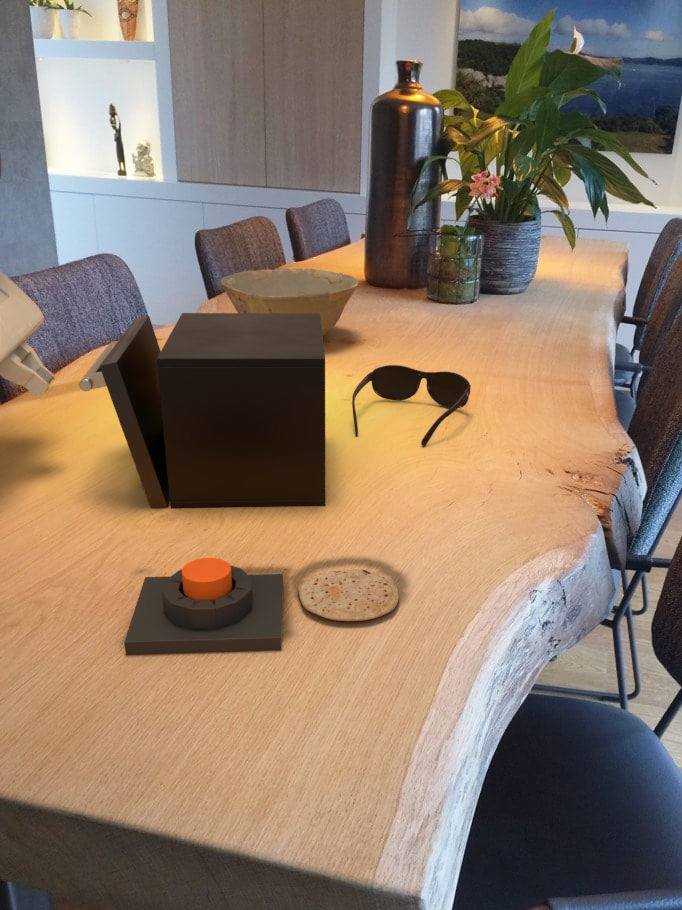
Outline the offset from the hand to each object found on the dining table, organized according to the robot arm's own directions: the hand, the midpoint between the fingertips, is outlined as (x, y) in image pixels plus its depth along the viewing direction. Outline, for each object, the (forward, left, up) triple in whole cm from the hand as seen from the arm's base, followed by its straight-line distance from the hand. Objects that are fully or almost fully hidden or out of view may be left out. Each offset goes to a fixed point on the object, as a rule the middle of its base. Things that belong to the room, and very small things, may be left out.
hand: (47, 387), depth 84 cm
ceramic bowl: (-22, +55, -9) cm, 60 cm away
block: (+34, -7, -9) cm, 36 cm away
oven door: (+8, +7, -9) cm, 14 cm away
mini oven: (+15, +14, -9) cm, 22 cm away
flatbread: (+40, +2, -9) cm, 41 cm away
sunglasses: (+17, +38, -9) cm, 43 cm away
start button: (+34, -7, -7) cm, 35 cm away
